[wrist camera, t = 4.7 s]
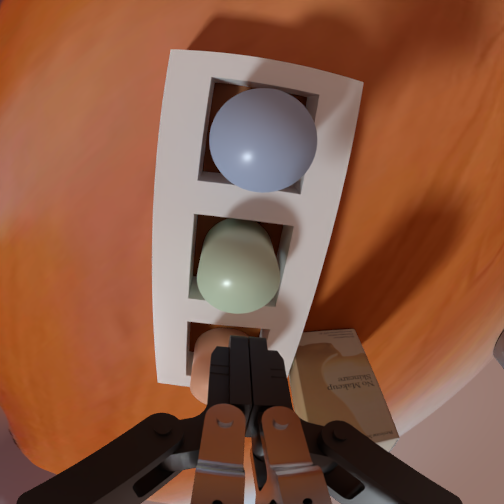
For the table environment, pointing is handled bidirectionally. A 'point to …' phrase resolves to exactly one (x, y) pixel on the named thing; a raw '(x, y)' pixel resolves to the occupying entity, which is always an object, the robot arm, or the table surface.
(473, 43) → the table surface
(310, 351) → the skincare box
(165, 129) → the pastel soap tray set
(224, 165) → the blue button
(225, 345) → the terracotta button
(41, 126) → the table surface
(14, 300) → the table surface
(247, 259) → the green button
